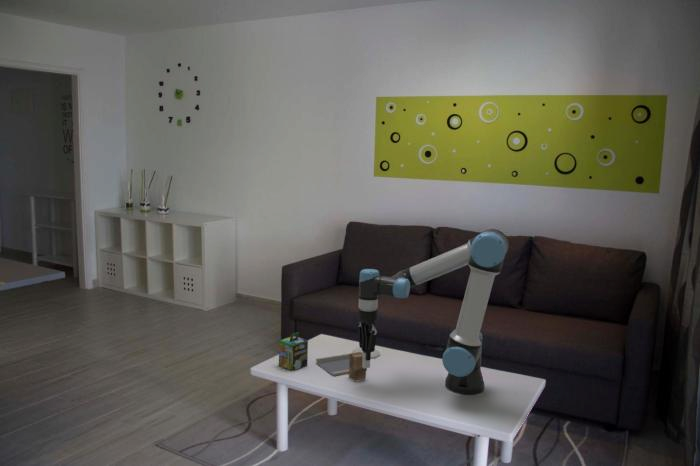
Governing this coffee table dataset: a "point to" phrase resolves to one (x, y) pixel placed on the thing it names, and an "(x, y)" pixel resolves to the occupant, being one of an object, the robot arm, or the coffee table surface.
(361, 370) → the block
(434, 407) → the coffee table surface
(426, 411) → the coffee table surface
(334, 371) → the grey flat square piece
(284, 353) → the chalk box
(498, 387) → the coffee table surface
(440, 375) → the coffee table surface
